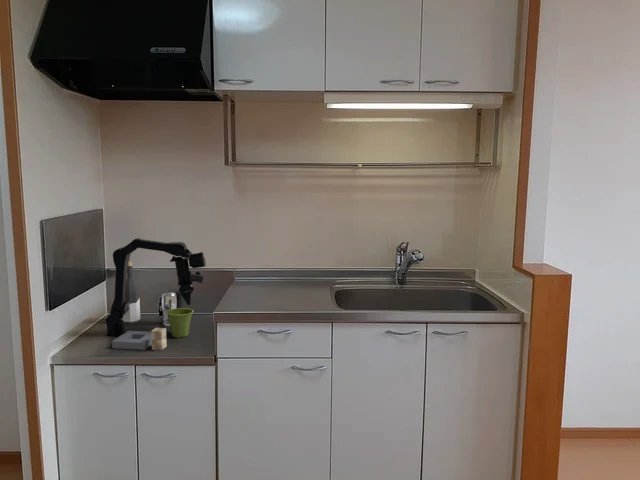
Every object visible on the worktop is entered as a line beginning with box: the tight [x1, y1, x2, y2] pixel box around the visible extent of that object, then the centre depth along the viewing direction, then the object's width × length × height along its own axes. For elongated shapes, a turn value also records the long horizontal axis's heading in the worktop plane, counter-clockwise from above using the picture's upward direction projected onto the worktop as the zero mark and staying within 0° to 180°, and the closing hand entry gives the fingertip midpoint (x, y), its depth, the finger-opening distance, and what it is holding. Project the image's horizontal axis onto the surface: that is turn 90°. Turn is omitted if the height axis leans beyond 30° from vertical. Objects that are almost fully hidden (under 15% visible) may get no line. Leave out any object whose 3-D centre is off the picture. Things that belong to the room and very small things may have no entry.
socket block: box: [111, 330, 152, 351], centre depth 201 cm, size 14×14×3 cm
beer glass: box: [161, 291, 178, 327], centre depth 228 cm, size 7×7×15 cm
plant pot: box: [166, 307, 194, 338], centre depth 212 cm, size 12×12×11 cm
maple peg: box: [150, 327, 168, 351], centre depth 196 cm, size 4×4×8 cm
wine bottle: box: [122, 261, 141, 326], centre depth 228 cm, size 8×8×30 cm
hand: (188, 302), depth 214 cm, fingers open, 9 cm apart
